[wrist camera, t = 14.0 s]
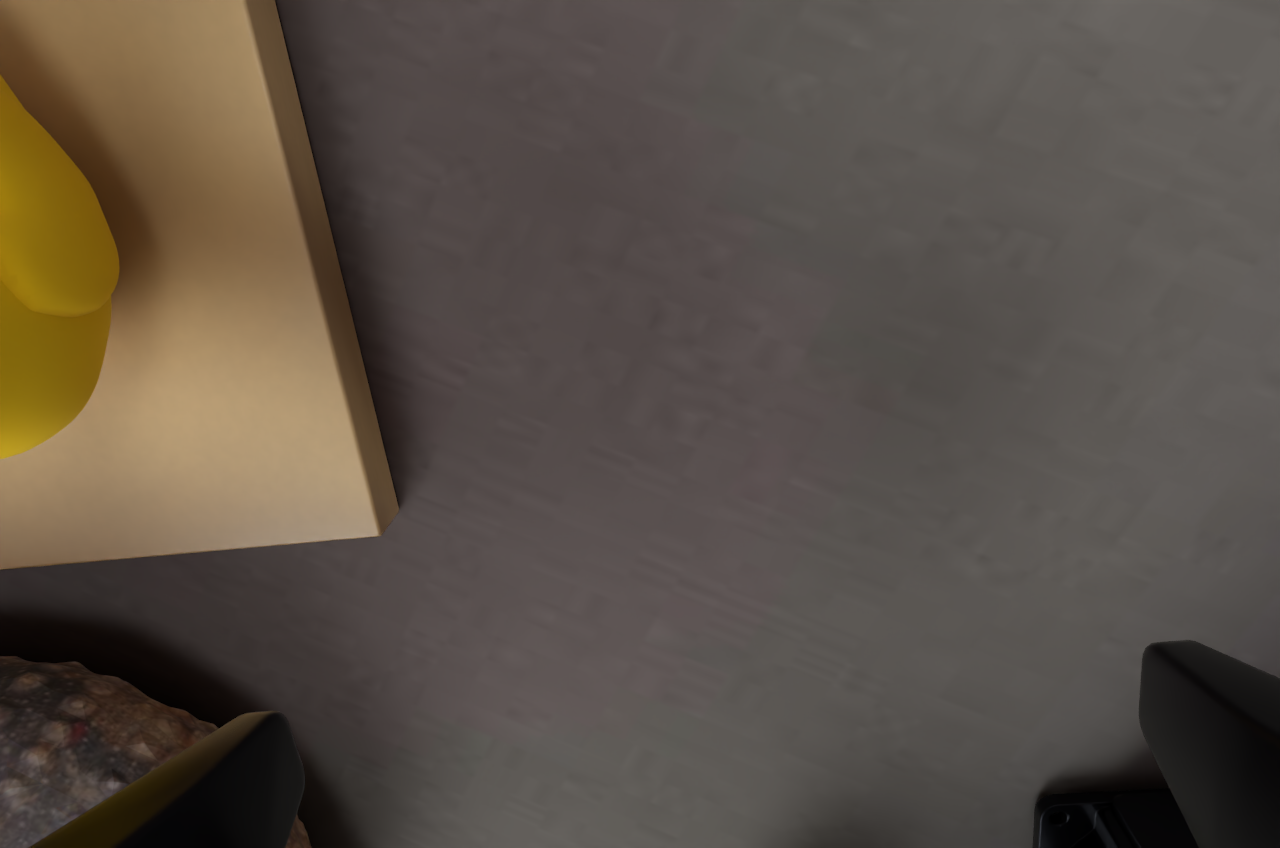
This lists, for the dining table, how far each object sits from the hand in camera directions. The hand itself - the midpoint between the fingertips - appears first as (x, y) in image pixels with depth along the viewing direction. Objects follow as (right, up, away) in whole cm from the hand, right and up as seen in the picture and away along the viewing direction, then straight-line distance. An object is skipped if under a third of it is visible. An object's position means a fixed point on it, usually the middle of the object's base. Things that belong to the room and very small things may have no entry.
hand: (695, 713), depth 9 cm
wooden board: (-14, +8, +11) cm, 20 cm away
